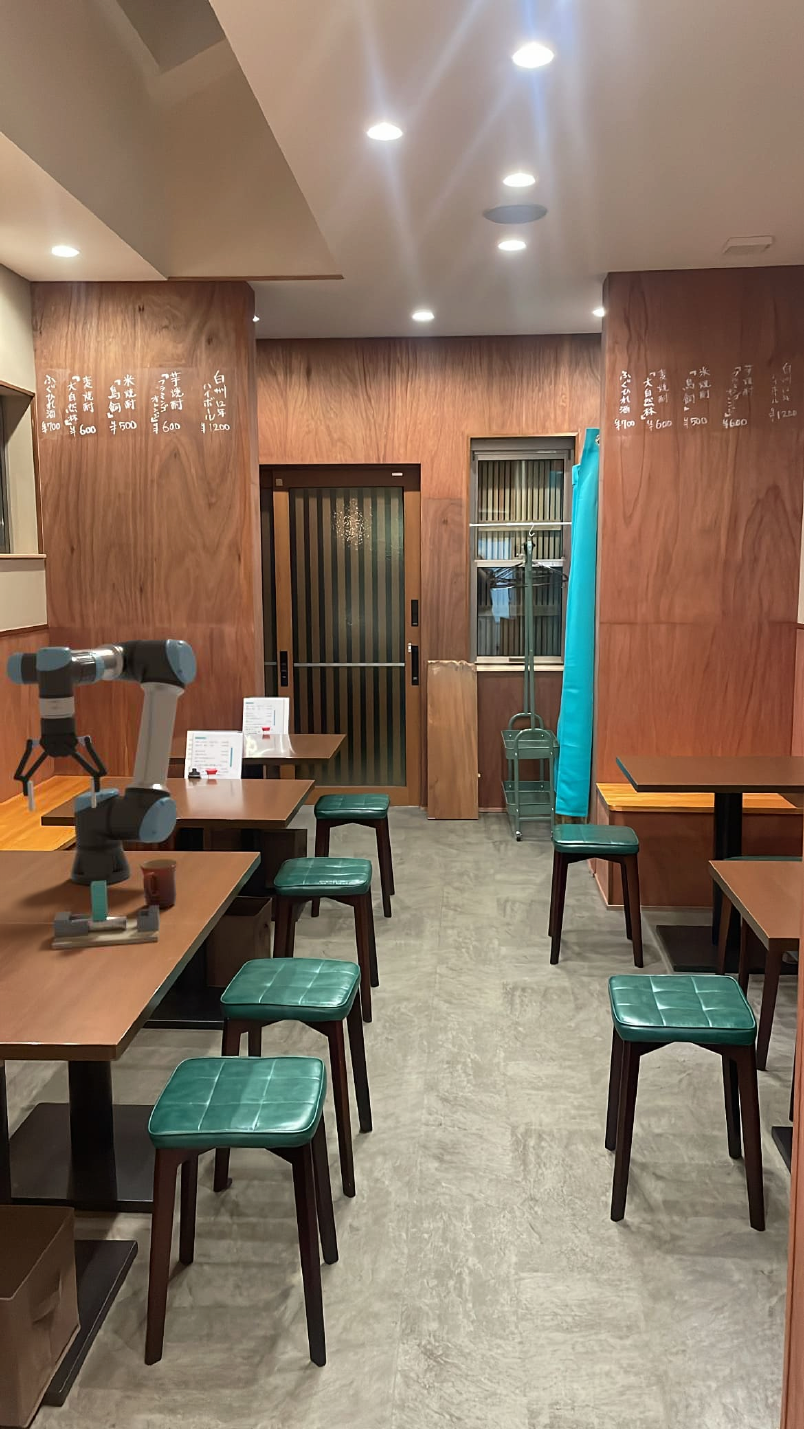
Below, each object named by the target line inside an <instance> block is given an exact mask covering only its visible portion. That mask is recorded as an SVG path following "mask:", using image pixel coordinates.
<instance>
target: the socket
mask: <svg viewBox="0 0 804 1429" xmlns="http://www.w3.org/2000/svg"><path fill="white" fill-rule="evenodd" d="M137 914H138V915H137V916H136V919H137V932H150V931H158V930H159V931H160V929H159V923H160V924H161V920H160V921H159V917H160V909H159V905H151V906H148V908H147V909H146V908H145V909H138V911H137Z"/></svg>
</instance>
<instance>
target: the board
mask: <svg viewBox="0 0 804 1429" xmlns="http://www.w3.org/2000/svg"><path fill="white" fill-rule="evenodd" d="M159 921H160V923H159V930H158V931H150V932H137V918H127V929H116V930H102V931H89V932H88V934H89V935H88V936H79V937H66V938H55V937H54V939H53V941H52V944H51V948H52V950H59V949H73V948H83V947H85V948H86V947H97V946H111V945H123V944H126V945H127V944H139V943H151V942H153V943H154V942H159V936H160V927H161V916H159Z"/></svg>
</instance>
